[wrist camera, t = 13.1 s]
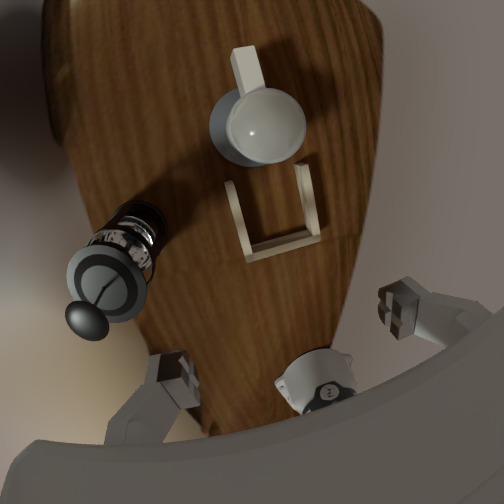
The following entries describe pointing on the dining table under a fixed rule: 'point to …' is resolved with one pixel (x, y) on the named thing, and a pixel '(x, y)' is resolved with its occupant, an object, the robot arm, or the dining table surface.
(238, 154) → the mat
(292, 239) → the stand
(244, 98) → the white handled cylinder
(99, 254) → the french press
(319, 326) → the dining table surface
